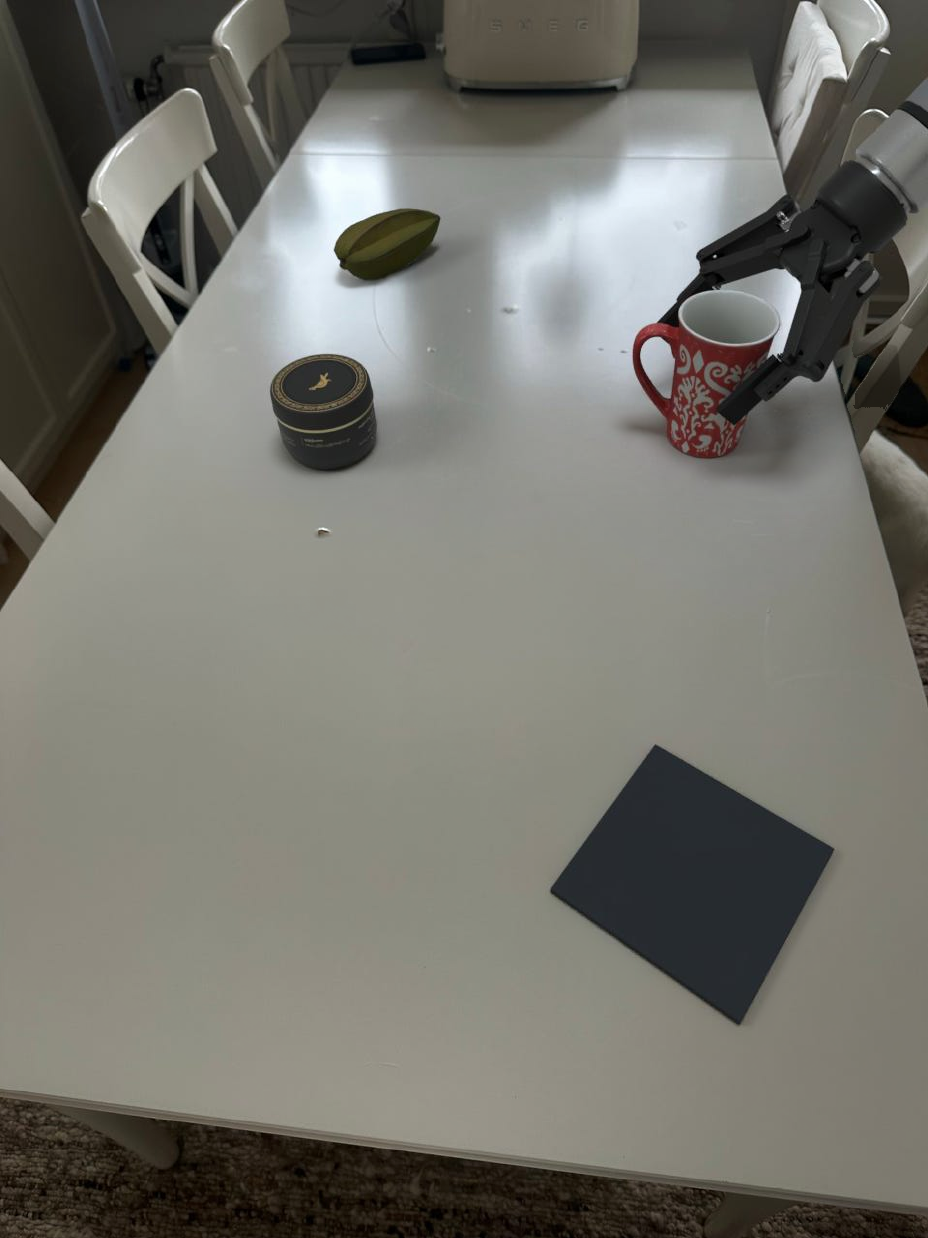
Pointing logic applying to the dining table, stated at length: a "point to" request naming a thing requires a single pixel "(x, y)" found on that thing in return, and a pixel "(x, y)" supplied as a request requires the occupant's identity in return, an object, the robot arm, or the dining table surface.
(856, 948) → the dining table surface
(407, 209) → the fruit
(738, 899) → the mat
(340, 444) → the jar
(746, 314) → the mug
